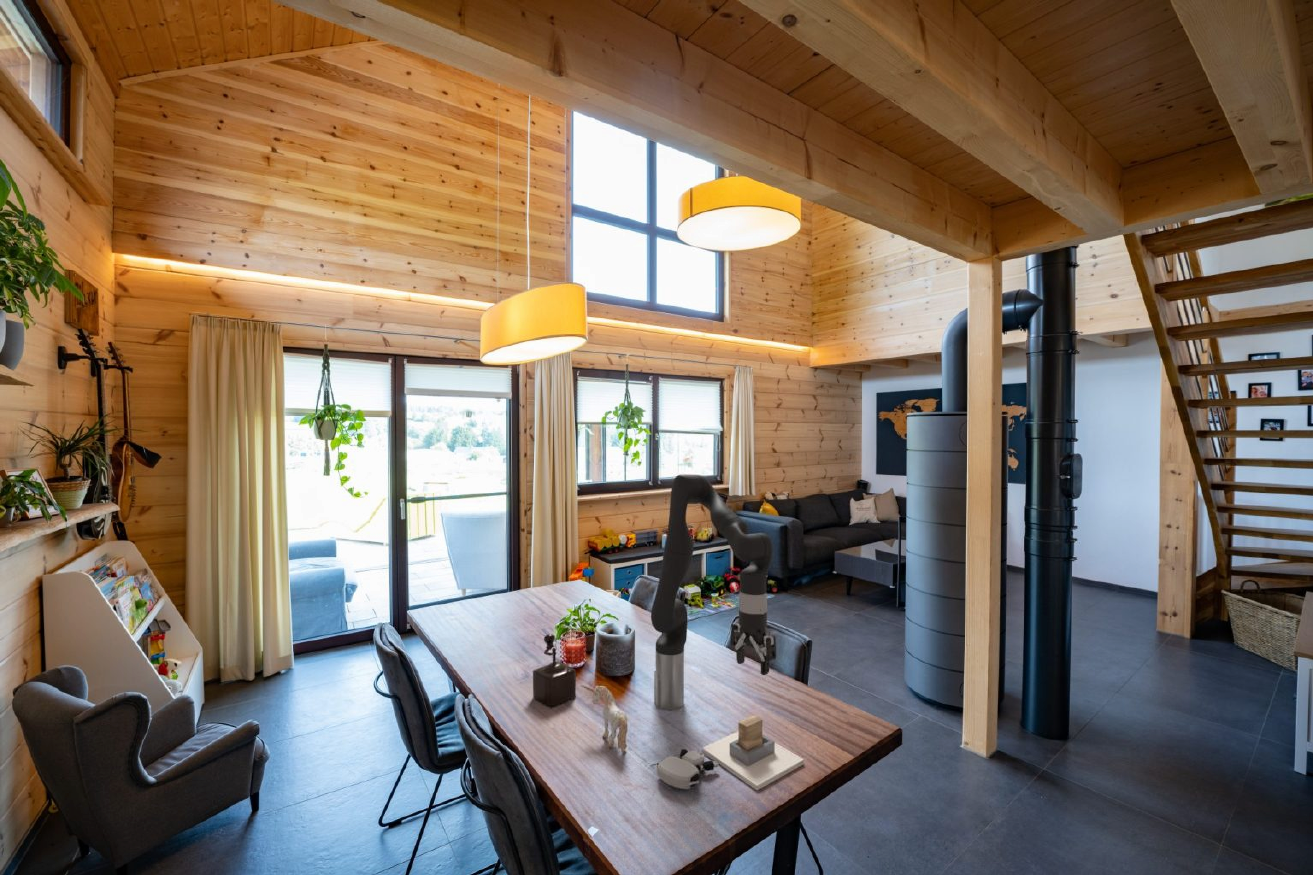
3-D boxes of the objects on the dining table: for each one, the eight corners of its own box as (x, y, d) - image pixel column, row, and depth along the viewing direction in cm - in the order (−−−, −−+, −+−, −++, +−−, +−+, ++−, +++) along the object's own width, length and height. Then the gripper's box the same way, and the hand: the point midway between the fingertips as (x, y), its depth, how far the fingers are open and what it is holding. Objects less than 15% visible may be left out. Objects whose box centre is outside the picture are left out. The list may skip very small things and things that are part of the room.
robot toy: (682, 758, 146) (647, 781, 135) (683, 740, 147) (648, 762, 135) (721, 775, 139) (687, 801, 127) (722, 757, 139) (688, 782, 127)
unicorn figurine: (599, 721, 163) (599, 677, 163) (642, 749, 149) (642, 700, 149) (580, 730, 158) (580, 684, 158) (622, 759, 144) (622, 709, 144)
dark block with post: (578, 697, 178) (578, 642, 178) (550, 709, 170) (550, 652, 170) (550, 682, 189) (551, 631, 189) (523, 693, 181) (523, 639, 181)
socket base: (757, 790, 131) (757, 773, 131) (702, 752, 147) (702, 736, 147) (803, 763, 142) (803, 748, 142) (748, 730, 158) (748, 716, 158)
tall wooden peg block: (738, 755, 144) (738, 721, 144) (753, 747, 147) (754, 714, 147) (746, 760, 141) (746, 726, 141) (762, 753, 145) (762, 719, 145)
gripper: (724, 604, 148) (723, 663, 148) (763, 618, 137) (763, 682, 137) (743, 599, 153) (742, 656, 153) (782, 612, 141) (782, 674, 141)
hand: (752, 668), depth 145 cm, fingers open, 8 cm apart
